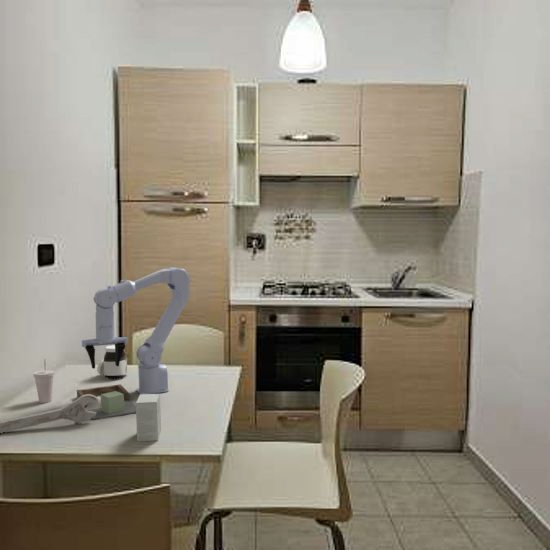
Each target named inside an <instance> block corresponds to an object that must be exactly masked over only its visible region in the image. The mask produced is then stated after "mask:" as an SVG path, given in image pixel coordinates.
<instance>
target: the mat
mask: <svg viewBox="0 0 550 550" xmlns="http://www.w3.org/2000/svg"><path fill="white" fill-rule="evenodd" d="M86 411H92V412H96V416H94V417H93V418H91V419H90V420H92V421H94V420H96V421H97V420H101V419H102V418H103V419H108V417H109V418H114V416H115V417H120V416H126V415H133V414H136V404H134V403H133V402H131V403H126V404H125V403H124V410H123V411H119V412H115V413H111V414H108V413H106V412H104V411H101V407H99V408H92V409H87V410H86Z"/></svg>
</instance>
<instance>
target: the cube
mask: <svg viewBox="0 0 550 550" xmlns="http://www.w3.org/2000/svg"><path fill="white" fill-rule="evenodd" d="M124 405H125V400H124V394H122V393H119V392H117V391H114V392H109V393H105V394H101V395H100V408H101V411H104V412H106V413H108V414H111V413H115V412H119V411H123V410H124Z"/></svg>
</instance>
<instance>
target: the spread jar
mask: <svg viewBox="0 0 550 550" xmlns="http://www.w3.org/2000/svg"><path fill="white" fill-rule="evenodd" d="M115 357H116V353H115V344H112V345H106V346H105V354H104V355H103V358H102V359H101V360H100V361H99V363H98V365H97V367H96V371H97V374H99V375H101V376H104V377H105V379H107V378H108V379H107V380H120V379H119V378H121V379H124V378H126V376H127V373H128V356H127V353H126V351H125V350H124V351H123V353H122V355H121V358H120V362H119V366H116V365H115ZM103 374H104V375H103ZM123 377H124V378H123Z"/></svg>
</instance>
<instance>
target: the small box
mask: <svg viewBox="0 0 550 550" xmlns="http://www.w3.org/2000/svg"><path fill="white" fill-rule="evenodd" d="M135 406H136V413H135V421H136V424H135V425H136V441H137V443H138V442H139V443H140V442H157V441H159V437H160V434H161V432H162V419H161V418H162V414H161V413H162V412H161V411H162V410H161V394H160V393H154V394H140V393H139V396H138V398H137V399H136V402H135Z"/></svg>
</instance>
